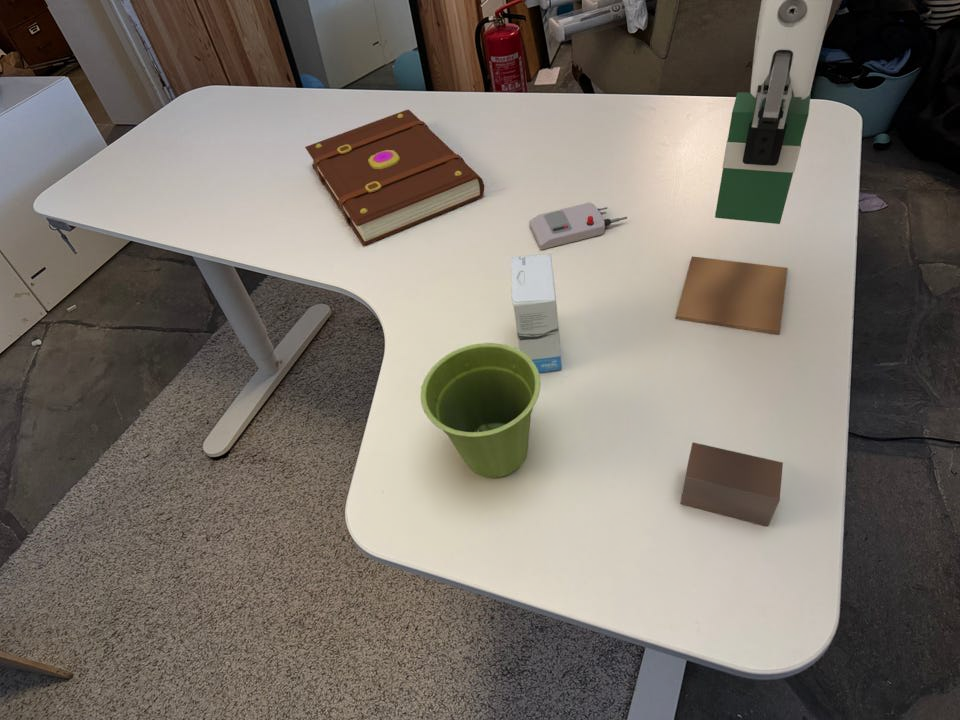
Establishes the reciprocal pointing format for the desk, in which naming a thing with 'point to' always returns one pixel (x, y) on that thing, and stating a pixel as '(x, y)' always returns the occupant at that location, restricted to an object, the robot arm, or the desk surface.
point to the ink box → (536, 310)
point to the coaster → (733, 294)
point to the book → (392, 175)
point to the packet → (759, 186)
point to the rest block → (732, 484)
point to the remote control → (569, 225)
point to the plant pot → (484, 404)
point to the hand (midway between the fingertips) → (762, 148)
